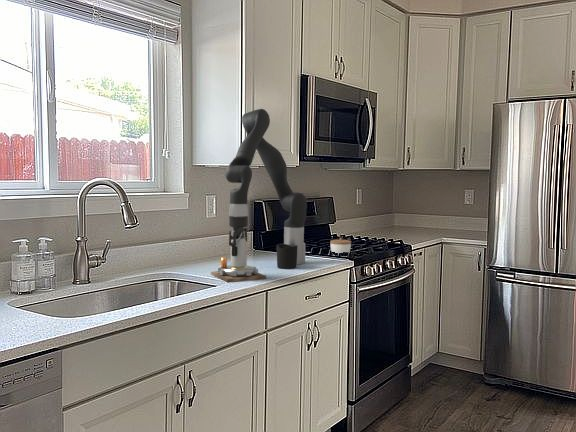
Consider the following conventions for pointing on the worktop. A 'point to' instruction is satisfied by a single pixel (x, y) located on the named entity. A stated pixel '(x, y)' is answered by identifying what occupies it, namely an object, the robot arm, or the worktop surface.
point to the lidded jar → (340, 246)
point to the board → (237, 277)
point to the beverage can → (239, 255)
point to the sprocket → (236, 269)
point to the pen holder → (286, 256)
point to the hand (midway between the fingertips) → (238, 254)
